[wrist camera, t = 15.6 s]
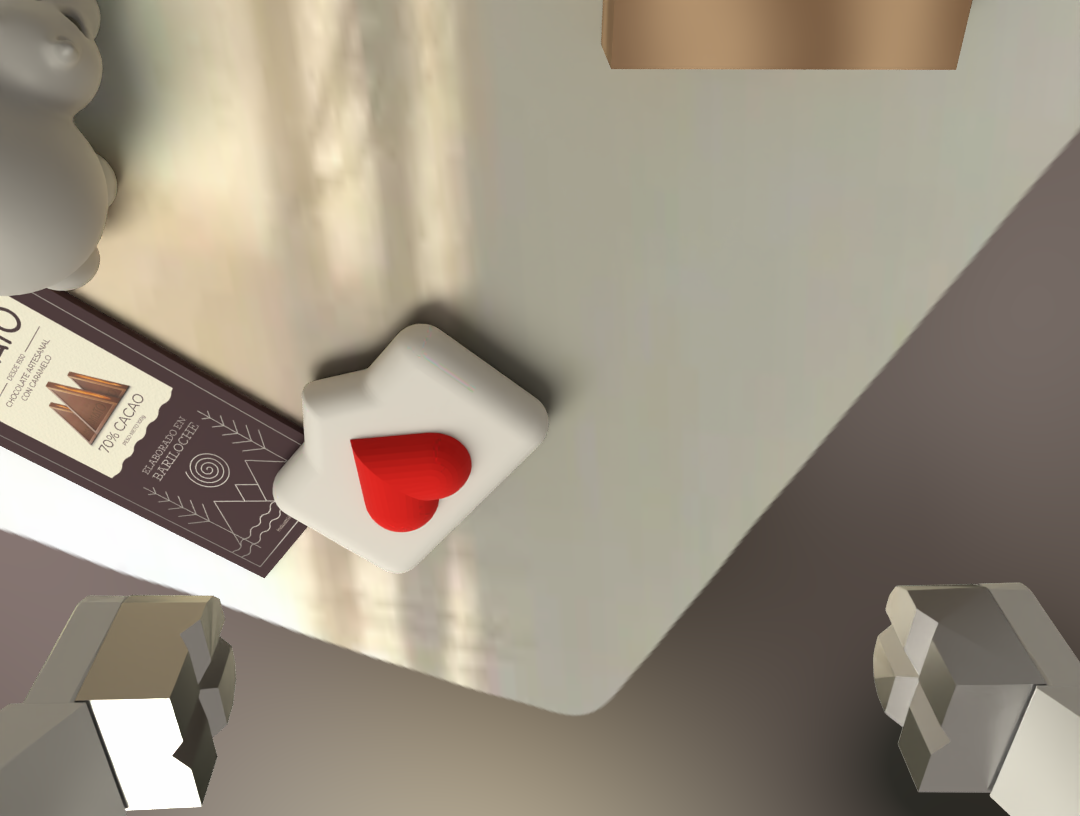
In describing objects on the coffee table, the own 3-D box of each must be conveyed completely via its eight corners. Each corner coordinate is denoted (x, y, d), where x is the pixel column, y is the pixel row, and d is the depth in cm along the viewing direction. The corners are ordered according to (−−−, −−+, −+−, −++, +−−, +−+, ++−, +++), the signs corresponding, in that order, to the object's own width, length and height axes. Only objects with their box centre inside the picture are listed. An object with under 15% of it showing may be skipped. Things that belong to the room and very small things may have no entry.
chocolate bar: (264, 578, 49) (-89, 400, 43) (268, 565, 50) (-78, 390, 43) (358, 466, 45) (-13, 254, 39) (360, 454, 46) (-3, 245, 40)
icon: (375, 324, 37) (564, 455, 41) (387, 279, 41) (559, 403, 45) (216, 512, 42) (398, 614, 46) (239, 456, 46) (406, 555, 49)
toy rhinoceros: (199, 33, 38) (161, -14, 29) (99, 312, 39) (36, 341, 31) (9, -53, 36) (-88, -128, 27) (-88, 243, 37) (-208, 255, 29)
